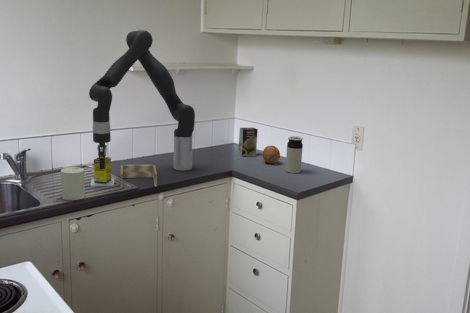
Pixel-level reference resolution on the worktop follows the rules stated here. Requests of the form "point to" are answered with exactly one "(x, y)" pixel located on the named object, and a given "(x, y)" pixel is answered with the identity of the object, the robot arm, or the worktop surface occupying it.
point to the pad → (110, 183)
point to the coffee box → (247, 142)
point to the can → (72, 183)
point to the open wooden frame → (138, 172)
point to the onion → (271, 154)
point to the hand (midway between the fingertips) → (102, 166)
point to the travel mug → (294, 154)
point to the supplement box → (102, 171)
